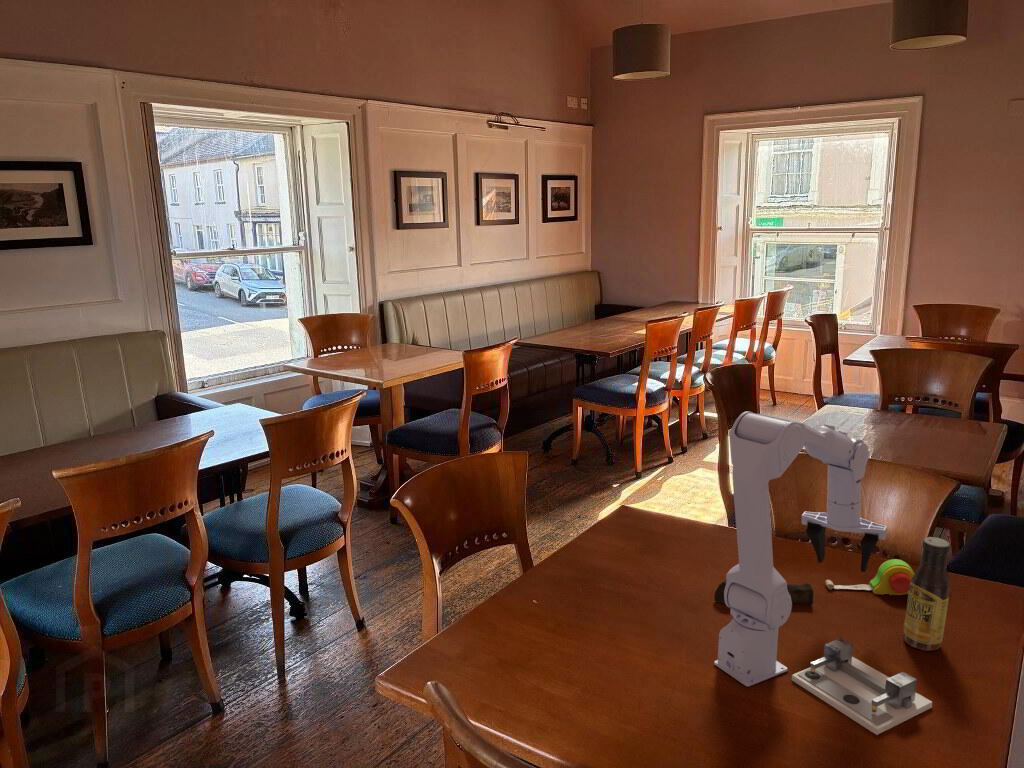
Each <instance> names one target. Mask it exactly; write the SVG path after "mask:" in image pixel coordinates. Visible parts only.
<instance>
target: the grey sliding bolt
mask: <svg viewBox="0 0 1024 768" xmlns="http://www.w3.org/2000/svg"><path fill="white" fill-rule="evenodd" d="M917 681H918V679H917V678H916V677H913V676H912V675H910V674H908V673H906V672H904V671H901V672H900V673H897V674H894V675H893V676H889V678H888V679H886V686H885V694H883V695H881V696H878V697H876V698H874V699H872V703H871V704H872V712H877V706H879V705H881V704H884V703H886V702H888V703H889V704H891V705H893V706H894V707H896V708H898V709H899V708H901V707H902V704H903V699H905V698H907V697H908V698H910V699H911V700H912V702H913V701H915V693H917Z"/></svg>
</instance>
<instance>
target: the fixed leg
mask: <svg viewBox="0 0 1024 768" xmlns="http://www.w3.org/2000/svg"><path fill="white" fill-rule="evenodd" d="M853 651H854V644H853V643H851V642H850V641H847V640H846V639H844V638H842V637H840V638H837V639H835V640H832V641H830V642H827V643H825V644H824V650H823V657H821V658H818V659H816V660H814V661H810V664H809V665H810V666H809V668H810V667H811V671H810V673H811V674H815V669H816V668H818V667H821V666H823V665H825V666H827V667H829V668H830V669H832V670H834V671H837V670H839V667H840V662H842V661H845V662H847V663H849V664H852V657H853V653H854V652H853Z"/></svg>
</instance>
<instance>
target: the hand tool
mask: <svg viewBox="0 0 1024 768" xmlns="http://www.w3.org/2000/svg"><path fill="white" fill-rule="evenodd" d="M725 587H726V580H723V581H722V582H721V583H719V585H718V587H717V589H716V590H715V591H714V598H713V599H714V602H716V603H720V604H725V605H726V603H725V600H724V590H725ZM787 590H788V593H789V594H790V596H791V601H792V604H800V603H802V604H803V603H805V604H808V605H809V606H812V605H813V603H814V590H813V587H812V585H811V583H808V582H807V583H806V582H805V583H803V584H792V583H791V584H790V583H789V584H787Z"/></svg>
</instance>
